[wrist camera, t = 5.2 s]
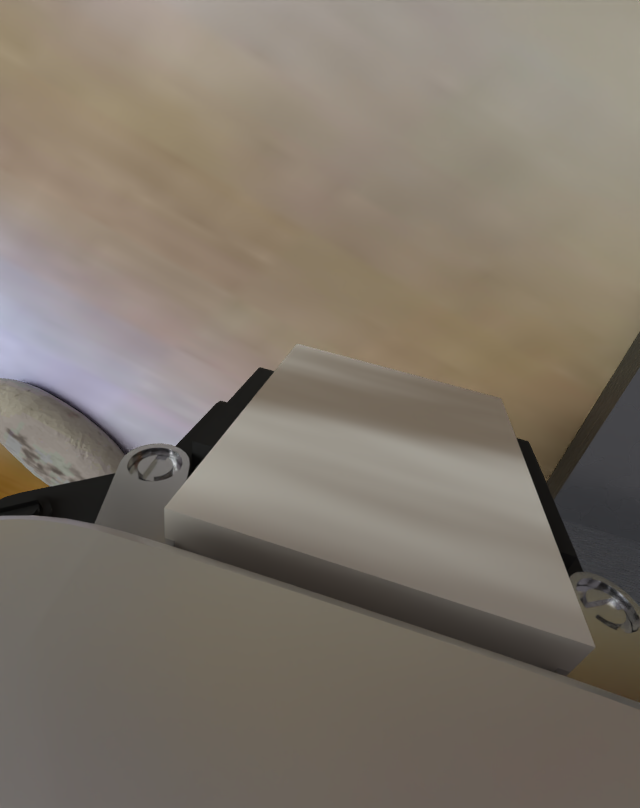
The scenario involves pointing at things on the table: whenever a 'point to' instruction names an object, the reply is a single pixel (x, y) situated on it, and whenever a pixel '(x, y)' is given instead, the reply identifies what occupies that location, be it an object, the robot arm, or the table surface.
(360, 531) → the block
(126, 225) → the table surface
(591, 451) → the vise
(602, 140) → the table surface
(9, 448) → the decorative stone
